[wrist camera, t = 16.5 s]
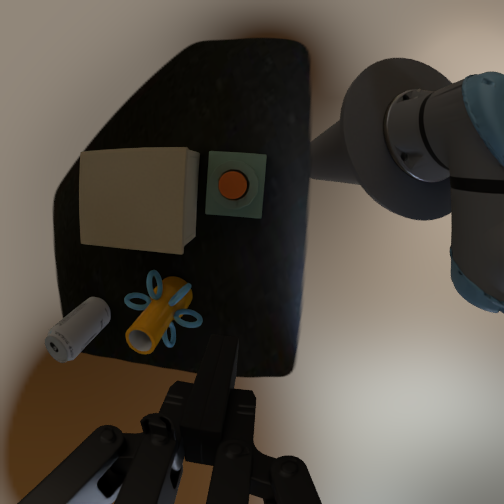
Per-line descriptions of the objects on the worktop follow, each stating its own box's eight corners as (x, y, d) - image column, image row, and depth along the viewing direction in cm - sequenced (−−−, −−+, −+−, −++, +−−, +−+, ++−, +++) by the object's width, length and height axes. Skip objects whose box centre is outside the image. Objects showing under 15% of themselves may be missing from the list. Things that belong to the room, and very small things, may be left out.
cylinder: (177, 245, 43) (136, 279, 29) (223, 293, 45) (203, 345, 30) (133, 290, 46) (88, 333, 31) (174, 332, 47) (144, 386, 33)
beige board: (188, 147, 30) (186, 147, 30) (183, 252, 34) (181, 254, 33) (83, 152, 31) (80, 151, 30) (83, 242, 35) (80, 243, 34)
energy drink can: (102, 327, 49) (62, 370, 34) (83, 304, 48) (38, 342, 33) (118, 313, 47) (76, 357, 33) (97, 288, 46) (49, 326, 32)
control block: (266, 155, 39) (266, 153, 35) (261, 216, 41) (260, 220, 38) (211, 152, 39) (206, 150, 36) (207, 212, 41) (202, 215, 38)
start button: (248, 172, 37) (247, 172, 35) (246, 199, 38) (245, 200, 36) (221, 170, 37) (219, 170, 35) (219, 197, 38) (217, 198, 36)
